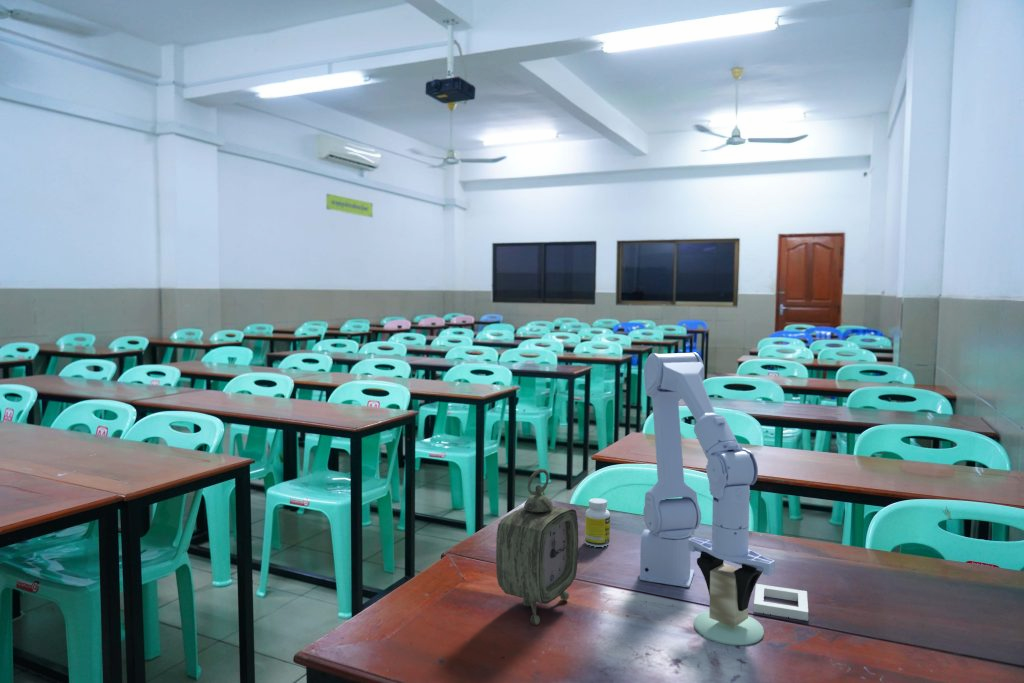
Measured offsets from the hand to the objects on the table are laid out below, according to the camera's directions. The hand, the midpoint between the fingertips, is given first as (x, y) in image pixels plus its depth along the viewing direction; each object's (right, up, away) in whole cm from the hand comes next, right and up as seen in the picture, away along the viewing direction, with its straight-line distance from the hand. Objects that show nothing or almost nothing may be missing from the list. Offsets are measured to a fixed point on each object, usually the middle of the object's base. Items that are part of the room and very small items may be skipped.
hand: (728, 603), depth 113 cm
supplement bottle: (-17, -2, +38) cm, 42 cm away
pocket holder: (+12, -4, +8) cm, 15 cm away
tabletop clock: (-32, -4, +8) cm, 33 cm away
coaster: (0, -4, 0) cm, 4 cm away
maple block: (0, -2, 0) cm, 3 cm away
